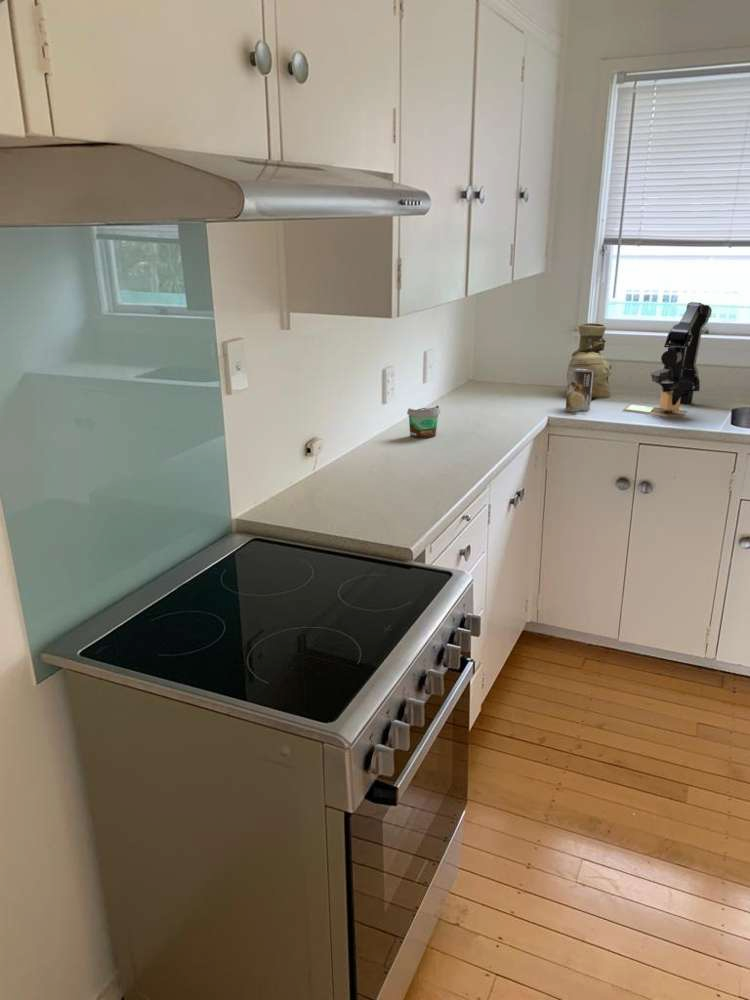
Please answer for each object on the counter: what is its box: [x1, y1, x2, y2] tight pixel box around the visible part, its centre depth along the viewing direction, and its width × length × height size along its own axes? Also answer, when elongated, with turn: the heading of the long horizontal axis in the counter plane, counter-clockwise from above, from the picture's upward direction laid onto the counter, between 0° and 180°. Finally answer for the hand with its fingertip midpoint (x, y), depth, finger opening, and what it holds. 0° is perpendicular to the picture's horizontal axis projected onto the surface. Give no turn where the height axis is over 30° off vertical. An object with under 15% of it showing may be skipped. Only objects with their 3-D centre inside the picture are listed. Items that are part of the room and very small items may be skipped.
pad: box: [626, 404, 656, 413], centre depth 292 cm, size 9×9×1 cm
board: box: [621, 403, 689, 420], centre depth 290 cm, size 14×22×1 cm, turn 59°
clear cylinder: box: [664, 410, 673, 414], centre depth 287 cm, size 3×3×4 cm
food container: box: [406, 404, 441, 440], centre depth 255 cm, size 12×6×10 cm, turn 117°
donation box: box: [658, 391, 681, 410], centre depth 286 cm, size 5×5×6 cm
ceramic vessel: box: [566, 322, 612, 400], centre depth 314 cm, size 19×21×30 cm
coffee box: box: [564, 368, 594, 413], centre depth 291 cm, size 9×6×16 cm
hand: (669, 403), depth 286 cm, fingers closed on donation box, 5 cm apart
